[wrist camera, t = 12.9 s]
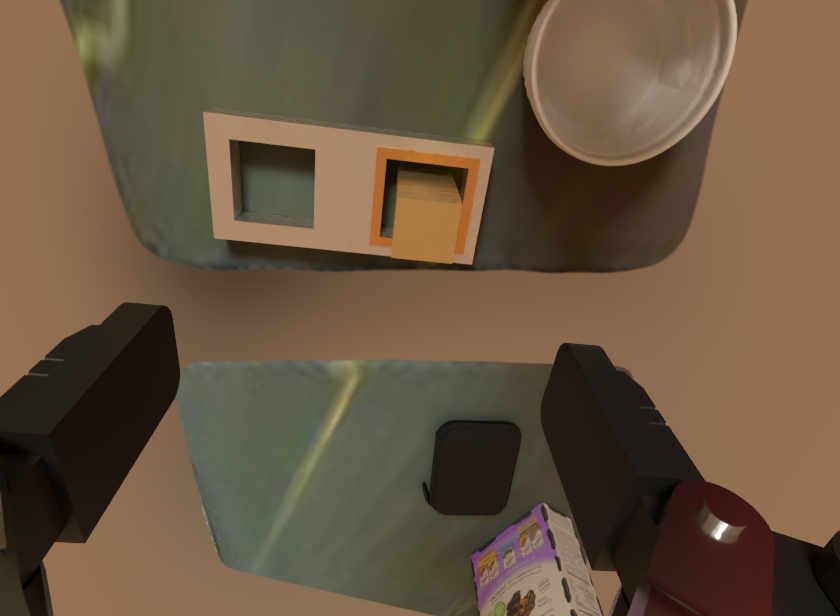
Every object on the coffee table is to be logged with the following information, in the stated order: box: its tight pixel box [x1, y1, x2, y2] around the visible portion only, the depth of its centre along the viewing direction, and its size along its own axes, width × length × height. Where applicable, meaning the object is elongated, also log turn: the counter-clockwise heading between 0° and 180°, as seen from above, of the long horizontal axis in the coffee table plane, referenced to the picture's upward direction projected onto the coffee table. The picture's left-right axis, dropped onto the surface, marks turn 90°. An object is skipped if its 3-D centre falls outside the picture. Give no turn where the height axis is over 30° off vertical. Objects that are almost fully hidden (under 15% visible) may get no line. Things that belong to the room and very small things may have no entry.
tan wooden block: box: [391, 165, 463, 264], centre depth 38 cm, size 4×4×9 cm
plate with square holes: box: [203, 107, 495, 265], centre depth 41 cm, size 10×22×3 cm, turn 83°
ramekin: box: [523, 0, 737, 166], centre depth 34 cm, size 13×13×7 cm
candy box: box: [471, 503, 604, 616], centre depth 59 cm, size 14×6×16 cm, turn 141°
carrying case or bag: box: [422, 420, 521, 515], centre depth 58 cm, size 11×3×15 cm
